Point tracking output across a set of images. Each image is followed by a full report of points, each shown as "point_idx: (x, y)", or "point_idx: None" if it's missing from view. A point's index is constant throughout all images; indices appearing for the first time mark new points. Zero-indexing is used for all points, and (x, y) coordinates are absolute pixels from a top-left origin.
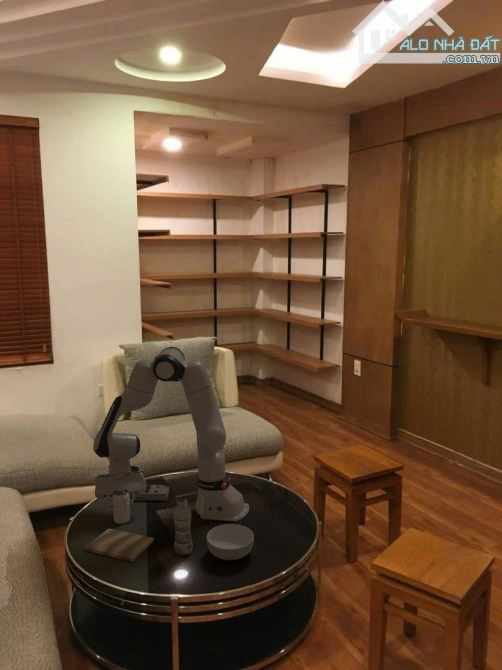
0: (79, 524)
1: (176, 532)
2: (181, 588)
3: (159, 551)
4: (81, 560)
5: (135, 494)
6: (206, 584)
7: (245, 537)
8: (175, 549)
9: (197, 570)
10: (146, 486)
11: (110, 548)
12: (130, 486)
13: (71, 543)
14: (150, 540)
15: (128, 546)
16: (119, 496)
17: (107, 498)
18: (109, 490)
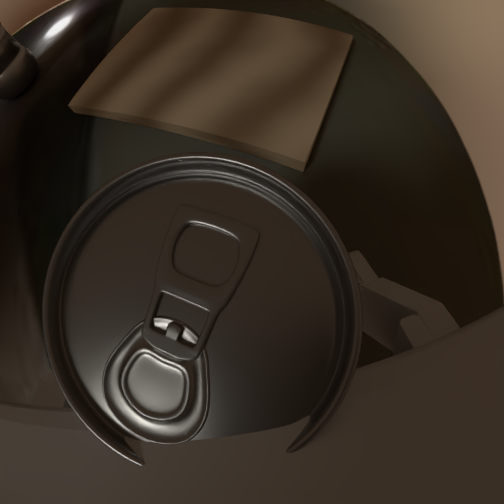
0: (484, 261)
1: (3, 28)
2: (73, 3)
3: (73, 69)
4: (333, 12)
5: (40, 381)
6: (35, 25)
7: None
8: (33, 56)
9: (29, 46)
10: None
11: (239, 25)
12: (36, 478)
13: (433, 95)
14: (81, 88)
15: (166, 41)
16: (188, 171)
17: (425, 301)
18: (463, 393)
